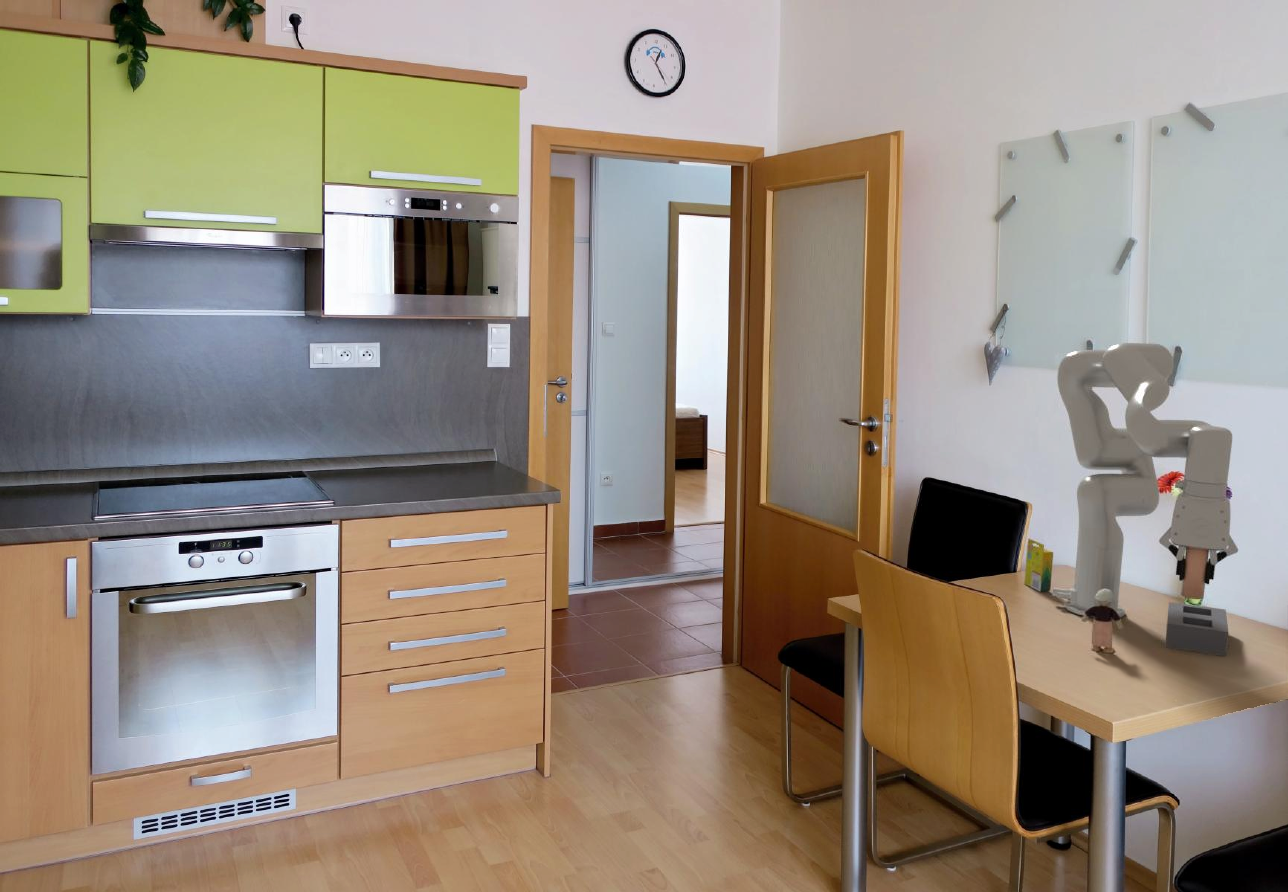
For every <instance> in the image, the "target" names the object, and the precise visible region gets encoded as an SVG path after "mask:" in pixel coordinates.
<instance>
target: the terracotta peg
mask: <svg viewBox="0 0 1288 892" xmlns="http://www.w3.org/2000/svg"><path fill="white" fill-rule="evenodd" d="M1184 556H1185V558H1184V559H1185V569H1184V578H1183V580H1182V583H1181V590H1180V591H1181V592H1180V596H1182V597H1184V598H1186V599H1191V600H1203V599H1204V596H1205V587H1206V583H1205V578H1206V569H1207V563H1208V559H1209V556H1210V552H1209V550H1206V549H1198V548H1190V547H1187V548H1186V550H1185V554H1184Z"/></svg>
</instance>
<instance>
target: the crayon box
mask: <svg viewBox="0 0 1288 892" xmlns="http://www.w3.org/2000/svg"><path fill="white" fill-rule="evenodd" d="M1027 540H1028V541H1027V547H1026V557H1025V558H1026V560H1025V570H1024V573H1025V574H1024V585H1026V586H1028V587H1030V588H1032V589H1034V590H1036V591H1038V592H1039V593H1043V592H1045V593H1049V592H1051V587H1052V575H1053V574H1052V573H1053V562H1054V552H1053V551H1051V550H1049V549H1046V548H1044V547H1045V544H1043V543H1041V542H1038V541H1036V540H1033V539H1031V538H1028V539H1027ZM1033 544H1036V545H1033Z"/></svg>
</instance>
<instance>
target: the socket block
mask: <svg viewBox="0 0 1288 892" xmlns="http://www.w3.org/2000/svg"><path fill="white" fill-rule="evenodd" d="M1227 616H1228V615H1227V610H1226V609H1223V608H1218V607H1217V608H1216V607H1208V606H1201V605H1194V604H1186V603H1180V602H1172V601H1169V602H1168V610H1167V619H1166V633H1165V636H1166V637H1165V648H1170V649H1176V650H1177V649H1178V650H1181V651H1182V650H1184V651H1189V652H1196V653H1202V654H1204V653H1205V654H1208V655H1215V656H1222V657H1223V656H1224V657H1227V650H1228V649H1227V648H1228V642H1229V641H1228V640H1229V627H1228V626H1229V625H1228V619H1227V618H1228V617H1227Z"/></svg>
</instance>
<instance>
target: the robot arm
mask: <svg viewBox="0 0 1288 892" xmlns="http://www.w3.org/2000/svg"><path fill="white" fill-rule="evenodd" d="M1174 363H1175V362H1174V357H1173V356H1172V353H1171V352H1170V350H1169V349H1167V347H1166V346H1164V345H1162V344H1159V343H1153V342H1152V343H1150V342H1149V343H1145V342H1144V343H1141V342H1140V343H1139V342H1122V343H1121V342H1120V343H1118V344H1114V345H1112V346H1111V347H1108V349H1106V350H1105V349H1103V350H1102V349H1083V350H1077V351H1076V350H1075V351H1073V352H1069V353H1068V354H1066V355H1065V356H1063V358H1062V359H1061V361H1060V362H1059V365H1058V369H1057V370H1058V371H1057V378H1056V379H1057V388H1058V392H1059V394H1060V397H1061V400H1062V403H1063V404H1064V406H1065V409H1066V412H1067V414H1068V418H1069V425H1070V431H1071V434H1072V439H1073V440H1072V441H1073V445H1074V449H1075V450H1074V451H1075V454H1076V459H1077V462H1078V463H1079V464H1080V466H1082V467H1083V468H1084V469H1086V470H1094V471H1121V473H1095V474H1090V475H1088V476H1086V477H1084V478H1083V479H1081V481H1080V482H1079V484H1078V486H1077V491H1076V500H1077V509H1078V534H1077V548H1076V557H1075V570H1074V582H1073V586H1072V588H1070V587H1068V588H1067V589H1066V588H1065V589H1064V588H1062V587H1061V588H1060V587H1053V588H1052V596H1053V597H1056V598H1057V599H1062V600H1063V599H1065V600H1066V601H1065V603H1064V608H1065V609H1066V610H1067V611H1069V612H1071V613H1073V614H1076V615H1080V616H1082V617H1083V616H1084V614H1085V611H1087V610H1088V609H1089V608H1091V607H1093V606H1101V605H1100V604H1099V603H1098V601H1097V600H1096V599H1095V598H1096V597H1095V596H1096V594H1097V593H1098V591H1100V590H1102V589H1109V590H1111V591H1112V593H1113V599H1112V602H1111V604H1110V605H1109V606H1107V607H1110V608H1112V609H1114V610H1115V611H1116V612H1117V614H1118V615H1119V617H1120V618H1122V617H1123V616H1125V613H1126V612H1125V611H1126V610H1125V608H1124V607H1123V606H1121V605H1120V604H1119V595H1120V586H1121V585H1120V584H1121V574H1122V573H1121V572H1122V565H1123V564H1122V562H1123V555H1124V554H1123V553H1124V542H1125V541H1124V539H1125V538H1124V533H1123V530H1122V528H1121V526H1120V524H1119V523H1118V521H1117V519H1116V518H1117V517H1142V516H1148V515H1151V514H1153V513H1155V511H1156V510H1157V507H1158V506H1159V502H1160V489H1159V483H1158V479H1157V473H1156V470H1155V469H1156V468H1155V464H1154V461H1153V458H1159V459H1160V458H1163V459H1164V458H1181V459H1182V458H1183V459H1186V460H1185V467H1184V475H1183V479H1182V480H1175V484H1174V488H1176V489H1179V490H1181V491H1182V492H1180V493H1178V495H1177V498H1176V500H1175V503H1174V509H1173V514H1172V519H1171V525H1170V527H1169V528H1168V529H1167V530H1166V532H1164V533H1163V534H1162V536H1161V537H1160V538H1159V540H1158V541H1159V544H1160V545H1162V546H1163V547H1164V548H1166V549H1168V550H1169V552H1170V553H1171V554H1172V556H1174V557H1175V558H1176V570H1175V575H1176V576H1179V578H1178V579H1179V581H1183V578H1184V569H1185V554H1186V548H1187V547H1190V548H1198V549H1206V550H1209V557H1208V563H1207V569H1206V578H1205V585H1210V580H1212V581H1213V580H1214V578H1215V571H1216V565H1217V564H1218V563H1220V562H1221V561H1222V560H1224V559H1225V558H1227V557H1229V556H1233V555H1235V554H1238V552H1239V548H1238V546H1237V545H1236V543H1235V541H1234V540H1233V538H1232V536H1231V534H1230V531H1231V502H1230V501H1231V500H1230V499H1229V498H1228V497H1226V496H1227V489H1228V488H1227V487H1228V481H1229V480H1228V478H1229V472H1230V471H1229V470H1230V462H1231V453H1232V447H1233V446H1232V445H1233V433H1232V431H1231V430H1230V429H1228V428H1225V427H1221V426H1215V425H1211V424H1210V423H1208V422H1205V421H1201V420H1198V419H1197V420H1195V419H1194V420H1193V419H1187V420H1185V419H1158V418H1156V417H1155V416H1154V415H1153V414H1152V411H1154V410H1156V409H1158V408H1159V407H1160V406H1161V405H1163V404H1164V403H1165V401H1166V400H1167V399H1168V398H1169V395H1170V391H1171V390H1170V385H1169V383H1168V381H1167V379H1169V377H1170V376H1171V375H1172V373H1173V370H1174ZM1093 388H1112V389H1113V388H1117V390H1118V391H1119V393H1121V395H1122V397H1123V398H1124V399H1125V400H1126V401H1127V403H1128V404H1127V405H1126V409H1125V413H1124V414H1125V415H1124V416H1125V417H1124V420H1125V426H1126V427H1124V428H1116V427H1114V426H1113V425H1112V422H1111V419H1110V413H1109V409H1108V407H1107V405H1106V403H1105V402H1104V401H1103V399H1102V398H1101V397H1100V396H1099V395H1098V394H1097V393H1096V392H1095V391H1094V390H1093ZM1177 546H1178V547H1177ZM1093 619H1095V617H1093Z"/></svg>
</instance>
